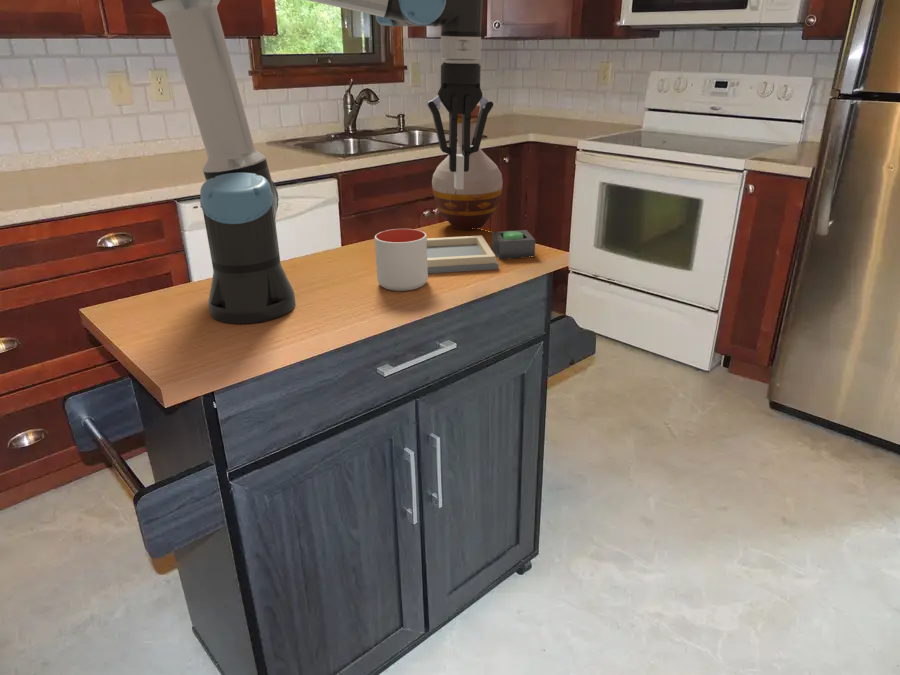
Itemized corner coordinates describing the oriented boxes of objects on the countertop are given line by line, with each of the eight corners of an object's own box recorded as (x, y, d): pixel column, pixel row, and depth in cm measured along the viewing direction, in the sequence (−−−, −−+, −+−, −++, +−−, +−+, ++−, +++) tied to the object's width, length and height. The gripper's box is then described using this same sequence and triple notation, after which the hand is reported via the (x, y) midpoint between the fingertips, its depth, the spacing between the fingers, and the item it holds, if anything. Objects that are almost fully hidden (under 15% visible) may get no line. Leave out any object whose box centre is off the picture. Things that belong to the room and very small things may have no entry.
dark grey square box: (499, 259, 146) (499, 241, 144) (492, 248, 153) (492, 231, 151) (534, 257, 146) (535, 239, 145) (525, 246, 154) (526, 230, 152)
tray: (417, 274, 137) (417, 261, 136) (411, 250, 153) (410, 238, 152) (498, 269, 139) (498, 256, 138) (483, 246, 155) (483, 234, 154)
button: (505, 251, 147) (505, 237, 146) (501, 245, 151) (501, 231, 149) (524, 250, 147) (525, 236, 146) (520, 244, 151) (520, 230, 150)
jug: (441, 214, 183) (439, 99, 170) (506, 216, 180) (508, 99, 167) (426, 233, 165) (422, 106, 153) (497, 236, 162) (499, 107, 150)
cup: (427, 275, 137) (426, 227, 133) (428, 292, 128) (426, 242, 124) (379, 276, 137) (376, 229, 132) (376, 293, 127) (372, 243, 123)
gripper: (428, 62, 120) (429, 192, 130) (499, 62, 122) (494, 191, 132) (423, 61, 127) (424, 185, 137) (490, 61, 129) (486, 183, 138)
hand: (458, 187), depth 134 cm, fingers closed
